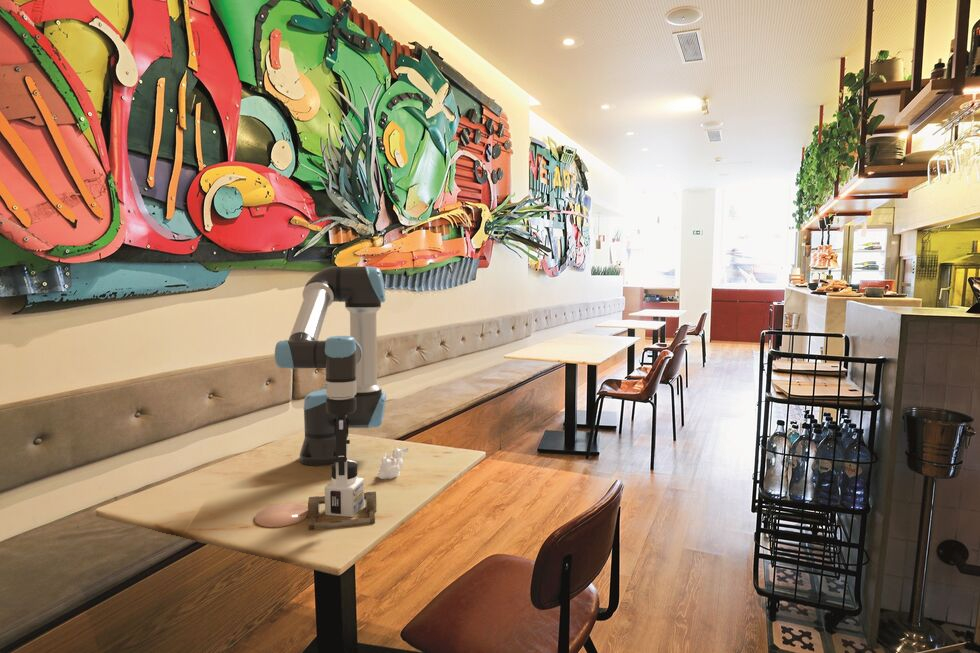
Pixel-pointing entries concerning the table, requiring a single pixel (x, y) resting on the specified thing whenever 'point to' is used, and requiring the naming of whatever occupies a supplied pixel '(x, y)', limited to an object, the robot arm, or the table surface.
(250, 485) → the table surface
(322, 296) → the robot arm
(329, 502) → the container
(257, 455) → the table surface
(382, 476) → the rabbit figurine
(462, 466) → the table surface
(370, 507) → the collar
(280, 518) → the pink flat disc
